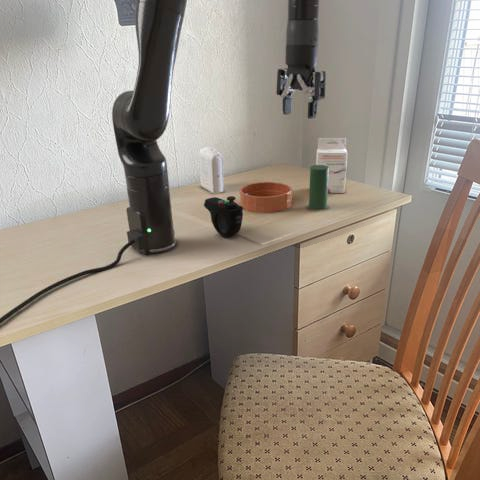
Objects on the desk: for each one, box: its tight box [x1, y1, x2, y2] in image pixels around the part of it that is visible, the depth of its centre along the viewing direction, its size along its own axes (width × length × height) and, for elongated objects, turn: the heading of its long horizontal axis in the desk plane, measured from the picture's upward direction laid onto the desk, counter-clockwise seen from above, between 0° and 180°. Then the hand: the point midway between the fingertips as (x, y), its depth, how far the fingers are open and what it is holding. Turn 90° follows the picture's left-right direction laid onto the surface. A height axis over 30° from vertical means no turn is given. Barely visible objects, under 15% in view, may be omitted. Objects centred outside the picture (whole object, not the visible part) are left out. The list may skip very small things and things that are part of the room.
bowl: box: [239, 181, 293, 214], centre depth 142 cm, size 14×14×4 cm
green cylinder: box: [308, 164, 329, 211], centre depth 137 cm, size 5×5×11 cm
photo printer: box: [198, 146, 225, 194], centre depth 155 cm, size 10×4×12 cm, turn 28°
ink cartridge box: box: [315, 137, 348, 194], centre depth 149 cm, size 9×5×15 cm, turn 84°
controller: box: [203, 195, 244, 238], centre depth 123 cm, size 4×12×10 cm, turn 37°
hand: (299, 116), depth 128 cm, fingers open, 8 cm apart
